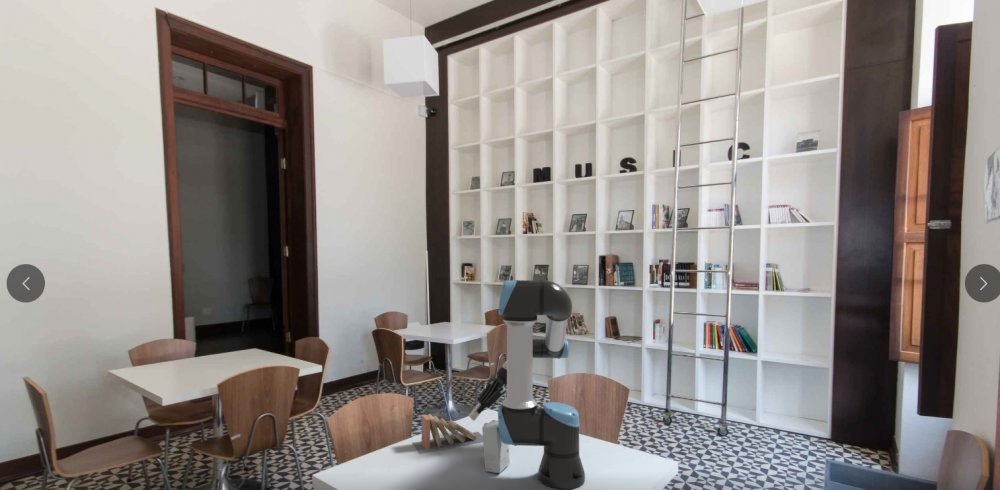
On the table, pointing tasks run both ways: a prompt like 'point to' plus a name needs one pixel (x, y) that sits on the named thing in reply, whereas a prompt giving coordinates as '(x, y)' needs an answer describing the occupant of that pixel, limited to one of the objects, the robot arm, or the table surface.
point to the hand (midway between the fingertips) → (471, 418)
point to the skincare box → (494, 448)
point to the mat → (446, 445)
